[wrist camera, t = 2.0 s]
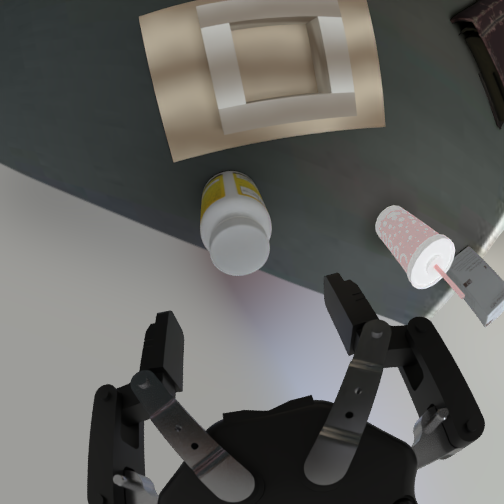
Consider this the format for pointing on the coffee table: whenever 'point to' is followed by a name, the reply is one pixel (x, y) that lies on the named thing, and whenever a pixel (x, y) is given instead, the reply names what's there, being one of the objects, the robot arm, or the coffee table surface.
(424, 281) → the beverage cup
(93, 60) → the coffee table surface
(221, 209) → the supplement bottle
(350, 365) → the robot arm
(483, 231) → the coffee table surface
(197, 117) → the socket board
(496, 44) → the diary
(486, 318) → the skincare box
